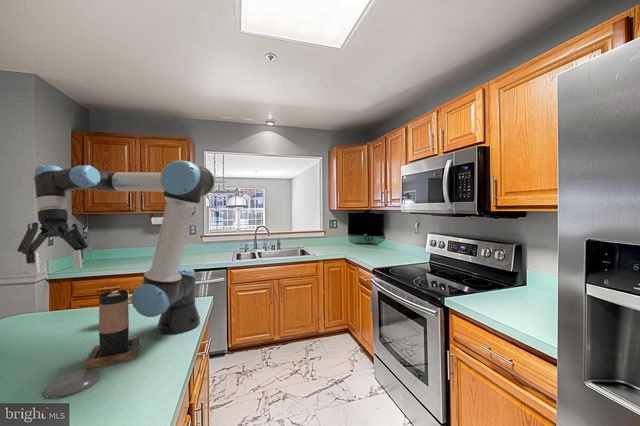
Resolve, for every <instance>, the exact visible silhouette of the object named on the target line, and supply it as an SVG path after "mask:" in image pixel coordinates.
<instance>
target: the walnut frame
mask: <svg viewBox="0 0 640 426" xmlns="http://www.w3.org/2000/svg"><path fill="white" fill-rule="evenodd" d="M139 338H140V337H139V336H138V337H133V338H128V348H129V347H130V349H129V351H128V352H126V353H121V354H116V355H111V356H107V357H102V358H100V357H99V356H100V344H95V345H94V346H93V349H92V351H91V352H90V354H89V356H88V358H87V360H86V361H85V370H87V369H95V368H100V367H106V366H109V365H114V364H119V363H123V362H128V361H132V360H136V356H137V351H138V348H139V344H140V343H139V341H140V339H139Z"/></svg>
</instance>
